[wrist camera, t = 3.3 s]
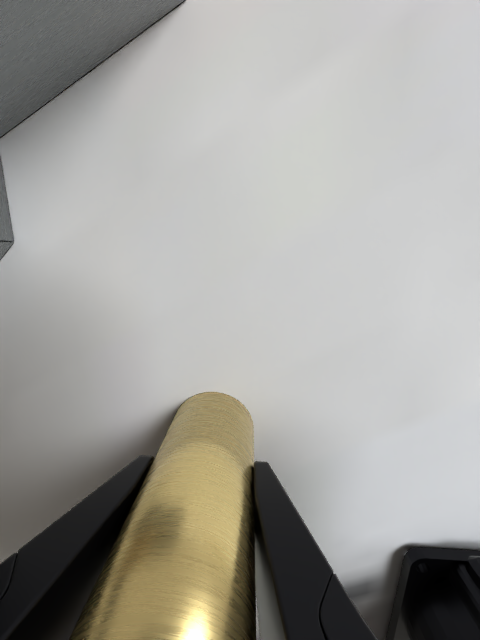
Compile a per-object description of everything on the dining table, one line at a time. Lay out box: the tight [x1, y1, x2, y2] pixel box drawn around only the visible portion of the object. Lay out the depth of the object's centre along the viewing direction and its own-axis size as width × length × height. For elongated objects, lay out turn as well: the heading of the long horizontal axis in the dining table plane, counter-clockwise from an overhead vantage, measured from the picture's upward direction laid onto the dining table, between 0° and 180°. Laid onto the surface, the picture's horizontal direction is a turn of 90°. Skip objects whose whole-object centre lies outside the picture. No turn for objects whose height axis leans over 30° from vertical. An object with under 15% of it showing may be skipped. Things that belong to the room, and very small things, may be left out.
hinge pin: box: [69, 392, 256, 640], centre depth 6 cm, size 3×3×8 cm
